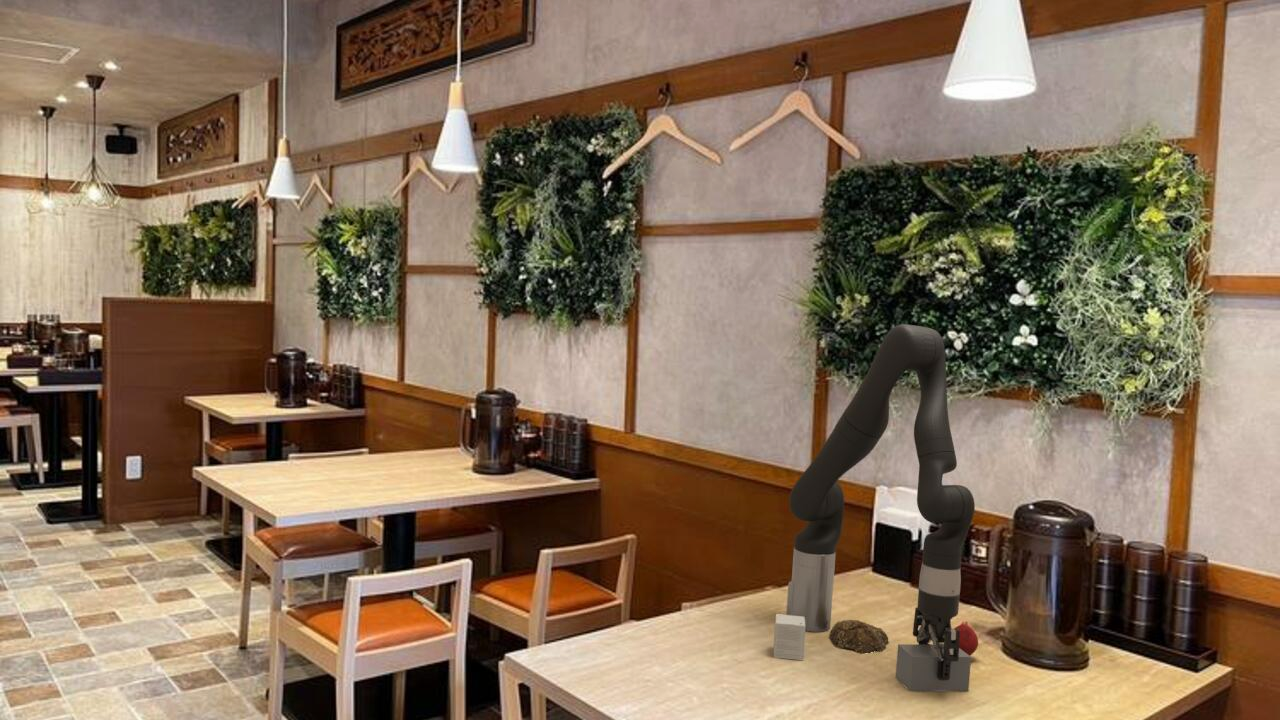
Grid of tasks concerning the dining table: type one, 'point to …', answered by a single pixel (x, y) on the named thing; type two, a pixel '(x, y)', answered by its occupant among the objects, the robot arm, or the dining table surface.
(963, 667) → the gray rectangular prism
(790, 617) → the product box
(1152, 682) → the dining table surface
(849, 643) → the bread roll
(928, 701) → the dining table surface
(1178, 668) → the dining table surface
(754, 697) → the dining table surface
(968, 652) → the onion
